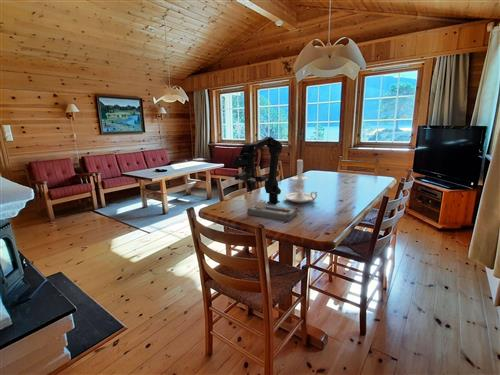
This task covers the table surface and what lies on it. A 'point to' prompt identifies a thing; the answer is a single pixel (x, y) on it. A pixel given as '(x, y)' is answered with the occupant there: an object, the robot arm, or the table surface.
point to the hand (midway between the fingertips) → (250, 191)
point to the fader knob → (261, 204)
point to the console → (273, 212)
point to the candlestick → (300, 187)
